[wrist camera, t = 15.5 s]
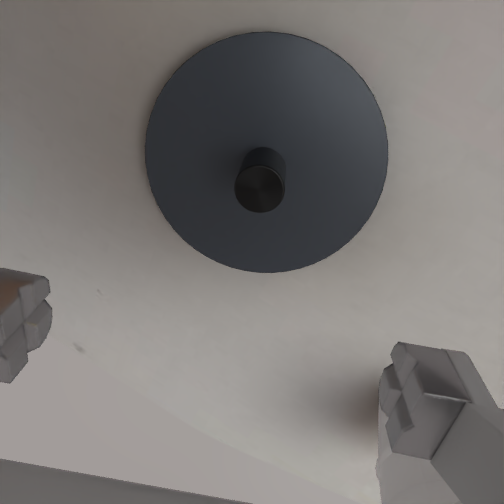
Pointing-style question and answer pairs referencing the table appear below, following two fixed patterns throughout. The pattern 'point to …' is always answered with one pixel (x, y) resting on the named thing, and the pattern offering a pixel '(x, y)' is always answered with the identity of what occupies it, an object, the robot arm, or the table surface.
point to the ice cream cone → (408, 475)
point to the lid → (266, 152)
